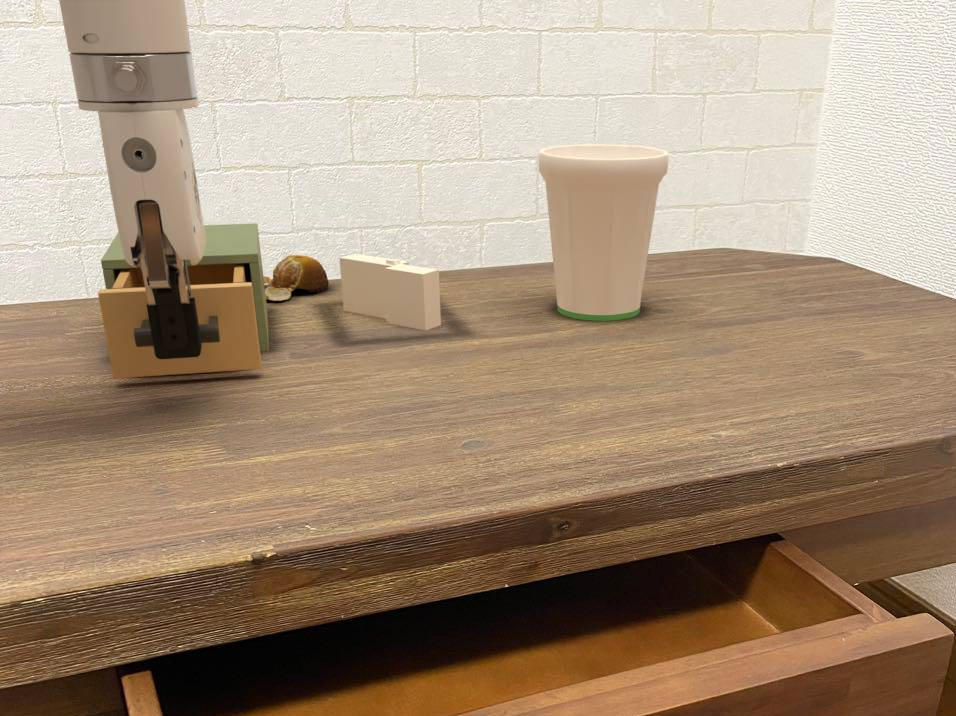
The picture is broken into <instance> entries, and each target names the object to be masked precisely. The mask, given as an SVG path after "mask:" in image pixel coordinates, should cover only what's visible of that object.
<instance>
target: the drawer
mask: <svg viewBox="0 0 956 716" xmlns="http://www.w3.org/2000/svg"><path fill="white" fill-rule="evenodd" d="M188 270H189V278H190V285H191V297H189V298H193V297H195V303H196V310H197V317H198V323H199V330H200V337H201V343H202V349H201V354H200V355H199V356H198V357H191V358H175V359H158V358H157V357H156V356H155V352H154V346H153V340H152V334H151V329H150V323H149V317H148V311H147V303H148V300H147V295H146V290H145V285H144V280H143V274H142V270H141V268H124V269H122V270H121V272H120V274H119V276H118V278H117V280H116V281H115V283H114V285H113V287H112V289H106V288H104V289H102V288H101V289H99V290H98V293H97V295H98V301H99V307H100V312H101V318H102V323H103V329H104V334H105V339H106V344H107V348H108V355H109V360H110V366H111V371H112V376H113V377H112V378H113V379H127V378H142V377H157V376H173V375H174V376H175V375H187V374H202V373H203V374H204V373H218V372H219V373H220V372H233V371H235V372H236V371H246V370H247V371H250V370H261V369H262V368H263V367H262V357H261V351H260V347H259V339H258V330H257V322H256V314H255V305H254V297H253V288H252V283H251V282H247V273H246V265H245V263H237V264H215V265H192V266H188Z"/></svg>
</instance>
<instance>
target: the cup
mask: <svg viewBox="0 0 956 716" xmlns="http://www.w3.org/2000/svg"><path fill="white" fill-rule="evenodd" d="M669 157H670V154H669V151H668V150H665V149H661V148H657V147H650V146H644V145H643V146H642V145H633V144H632V145H631V144H630V145H629V144H613V143H611V144H608V143H607V144H605V143H586V144H583V143H582V144H566V145H555V146H548V147H544V148H541V149H540V151H539V152H538V172H539V173H540V175H541V177H542V179H543V180H544V182H545V192H546V202H547V209H548V210H547V213H548V222H549V232H550V233H549V234H550V243H551V244H550V245H551V255H552V263H553V275H554V285H555V293H556V294H555V296H556V306H557V312H558V313H559V314H561V315H562V316H565V317H568V318H572V319H574V320H582V321H590V322H591V321H594V322H611V321H622V320H626V319H631V318H634V317H636V316H638V315H639V314H640V312H641V300H642V294H643V288H644V282H645V275H646V269H647V264H648V263H647V262H648V257H649V252H650V251H649V250H650V245H651V244H650V243H651V237H652V231H653V225H654V224H653V223H654V218H655V212H656V206H657V205H656V204H657V199H658V193H659V186H660V183H661V182H662V181H663V179H664V177H665V176H666V175H667V174H668V167H669Z"/></svg>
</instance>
